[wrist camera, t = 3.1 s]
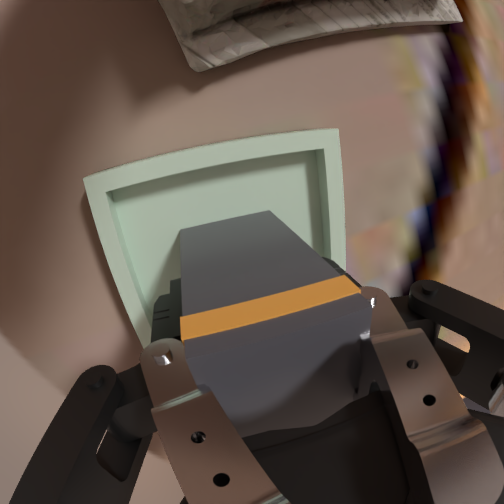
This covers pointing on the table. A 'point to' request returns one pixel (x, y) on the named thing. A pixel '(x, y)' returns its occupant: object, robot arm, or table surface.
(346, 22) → the packaged product
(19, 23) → the table surface
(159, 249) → the tray
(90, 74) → the table surface
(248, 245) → the plug
